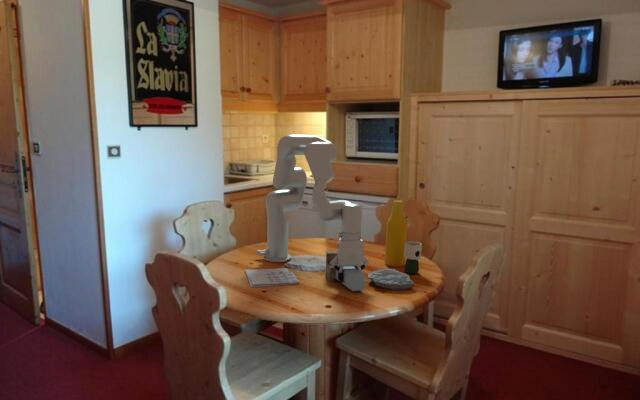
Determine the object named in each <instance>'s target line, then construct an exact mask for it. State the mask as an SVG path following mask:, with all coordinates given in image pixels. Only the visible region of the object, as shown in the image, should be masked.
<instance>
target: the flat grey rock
mask: <svg viewBox="0 0 640 400" xmlns="http://www.w3.org/2000/svg"><path fill="white" fill-rule="evenodd" d="M367 278H368V279H370V280H371V281H372V283H374V285H375V286H377V287H379V288H382V289H387V290H394V291H396V290H397V291H398V290H404V289H405V290H407V289H411V287H413V285H414V284H415V283H414V281H413V280H412V279H410V278H411V277H410V274H407V272H401V271H398V270H397V269H394V268H393V269H392V268H383V269H381V268H379V269H375V270H373V271H371V272H369V273H368V274H367Z"/></svg>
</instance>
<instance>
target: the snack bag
mask: <svg viewBox="0 0 640 400" xmlns="http://www.w3.org/2000/svg"><path fill="white" fill-rule="evenodd" d="M244 273H245V274H246V276H247V280H248V283H249V286H250V287H251V288H258V287H259V288H260V287H270V286H272V287H273V286H284V285H298V283H300V281H299V279H298V278H297V276H296V275H295V274H294V272H293V271H292V272H290V271H289V269H288V268H286V267H285V268H284V267H279V268H262V269H261V268H260V269H258V268H257V269H245V270H244Z"/></svg>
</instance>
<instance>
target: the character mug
mask: <svg viewBox="0 0 640 400" xmlns="http://www.w3.org/2000/svg"><path fill="white" fill-rule="evenodd" d="M422 245H423V244H422V243H421V242H418V241H406V242H405V249H404V257H405V265H404V270H403V271H404V273H408V274H409V275H410V274H411V275H416V274H419V272H420V265H419V260H421V258H422V250H423V249H422V247H423V246H422Z"/></svg>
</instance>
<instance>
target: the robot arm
mask: <svg viewBox="0 0 640 400" xmlns="http://www.w3.org/2000/svg"><path fill="white" fill-rule="evenodd" d="M276 150H277V151H276V162H275V165H274V171H273V177H272V185H273V187H274V188H275V189H277V190H272V191H270V192H268V193H267V194H266V196H265V207H266V217H267V223H266V224H267V225H266V227H267V230H266V231H267V236H266V237H267V238H266V239H267V240H266V241H267V243H266V246H267V247H266V248H265V249H260V250H259V249H258V250H256V254H257V255H259V256H263V259H264V260H265V261H267V262H271V263H284V262H285V261H286V262H288V261H287V260H289V259H290V258H291V259H292V255H290V253H289V219H288V216H287V214H286V213H285V212H286V211H293V210H298V209H299V208H300V207H301V206H302V203H303V201H304V195H305V192H306V187H307V182H308V179H307V178H308V176H307V173H306V171H305V170H304V169H303V168H301V167H296V164H297V158H296V156H304V157H305V160H306V162H307V165H308V167H309V170H310V172H311V175H312V177H313V179H314V185H313V188H312V193H311V194H312V195H311V197H312V203H313V206H314V208H315V211H316V213H317V215H318V217H319V219H321V220H322V221H324V222H332V221H333V222H334V221H339V220H341V223H340V224H341V227H340V229H341V230H340V232H338V233H337V234H336V236H337V238H339V239H338V244H337V247H336V248H337V249H336V252H337V255H336V257H335V258H334V259H333V260H332V261H331V262H330V264H331V265H332V266H333V267H334V268H335V269H336V270H337V271H338V280H339V281H338V280H337V281H338V282H339V283H340V284H342V282H343V273H342V270H343V267H346V266H356V268H357V269H358V270H359V271H361V272H363V270H364V269H366V267H367V266H368V265H369V264H370V261H369V260H368V259H367V258H366V256H365V247H364V240H363V239H362V217H363V216H362V215H363V208H362V205H360V204H358V203H355V202H354V203H353V202H350V201H348V200H344V199H339V200H331V201H328V198H327V197H326V193H325V186H326V184H329V183H330V182H331V181H332V180H333V179H334V178H335V176H336V174H335V171H334V169H333V168H334V167H333V166H332V164H331V163H333V162H335V161H336V159H337V158H338V149H337V147H336V144H334V143H332V142H331V141H330V140H327V139H324V138H322V137H320V136H317V135H313V134H286V135H284V136H281V137H280V139H279V140H278V142H277V146H276ZM291 259H290V260H291ZM290 260H289V261H290ZM336 261H337V263H338V265H339V266H337V265H336V264H335V262H336ZM286 262H285V263H286Z"/></svg>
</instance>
